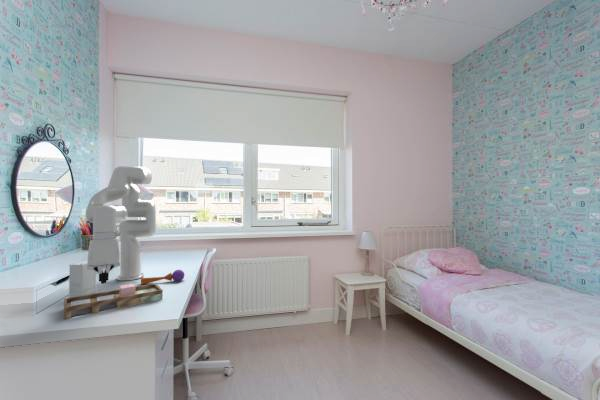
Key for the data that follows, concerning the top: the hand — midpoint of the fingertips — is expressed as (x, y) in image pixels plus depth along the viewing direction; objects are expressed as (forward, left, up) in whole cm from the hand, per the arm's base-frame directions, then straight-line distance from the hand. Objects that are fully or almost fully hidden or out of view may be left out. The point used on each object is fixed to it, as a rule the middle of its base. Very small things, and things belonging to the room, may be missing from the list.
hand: (103, 282), depth 109 cm
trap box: (-1, +4, -10) cm, 10 cm away
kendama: (-21, +27, -10) cm, 36 cm away
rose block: (-1, +8, -7) cm, 11 cm away
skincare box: (-22, -6, -10) cm, 24 cm away
